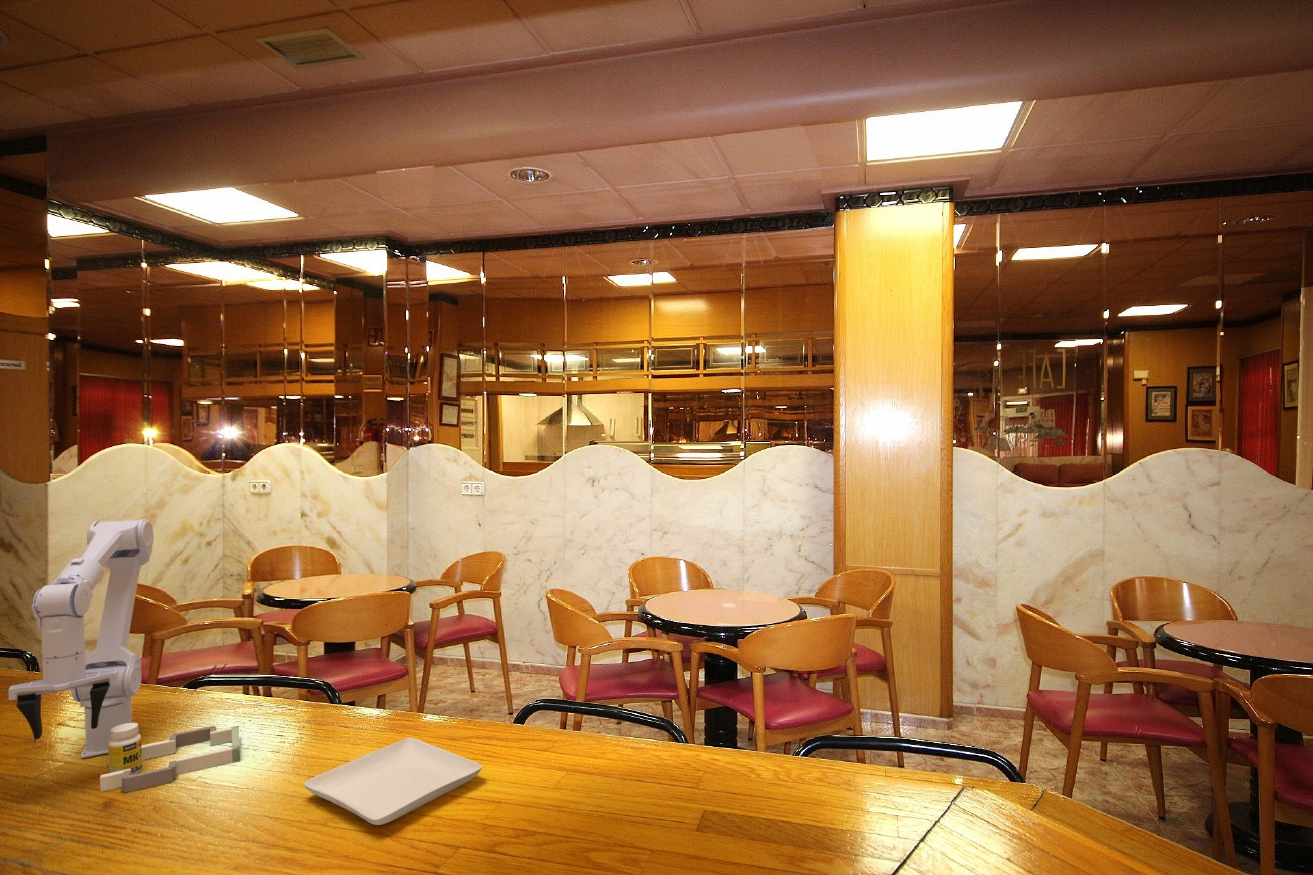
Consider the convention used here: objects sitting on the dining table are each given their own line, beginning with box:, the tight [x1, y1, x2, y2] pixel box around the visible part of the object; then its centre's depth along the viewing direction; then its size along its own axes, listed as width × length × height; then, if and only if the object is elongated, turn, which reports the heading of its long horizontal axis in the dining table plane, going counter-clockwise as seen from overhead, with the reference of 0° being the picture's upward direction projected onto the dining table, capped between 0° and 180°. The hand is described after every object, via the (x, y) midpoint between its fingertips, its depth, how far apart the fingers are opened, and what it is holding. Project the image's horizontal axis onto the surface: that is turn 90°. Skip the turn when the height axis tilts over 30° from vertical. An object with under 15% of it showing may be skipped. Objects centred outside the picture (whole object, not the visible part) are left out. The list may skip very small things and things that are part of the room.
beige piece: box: [99, 725, 241, 794], centre depth 134 cm, size 17×21×2 cm
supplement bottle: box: [108, 722, 143, 775], centre depth 130 cm, size 5×5×8 cm
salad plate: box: [303, 737, 484, 826], centre depth 123 cm, size 21×21×3 cm
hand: (66, 731), depth 126 cm, fingers open, 7 cm apart
